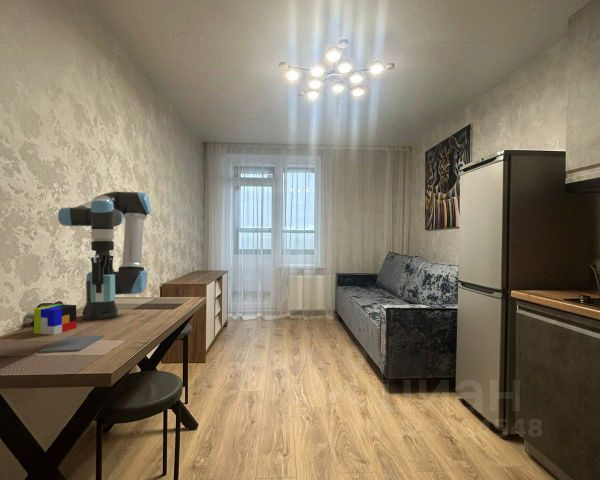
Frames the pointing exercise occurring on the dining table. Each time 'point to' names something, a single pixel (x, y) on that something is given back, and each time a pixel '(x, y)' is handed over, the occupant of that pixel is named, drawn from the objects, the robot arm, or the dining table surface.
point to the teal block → (108, 288)
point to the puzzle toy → (54, 319)
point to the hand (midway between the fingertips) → (103, 299)
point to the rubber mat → (71, 344)
